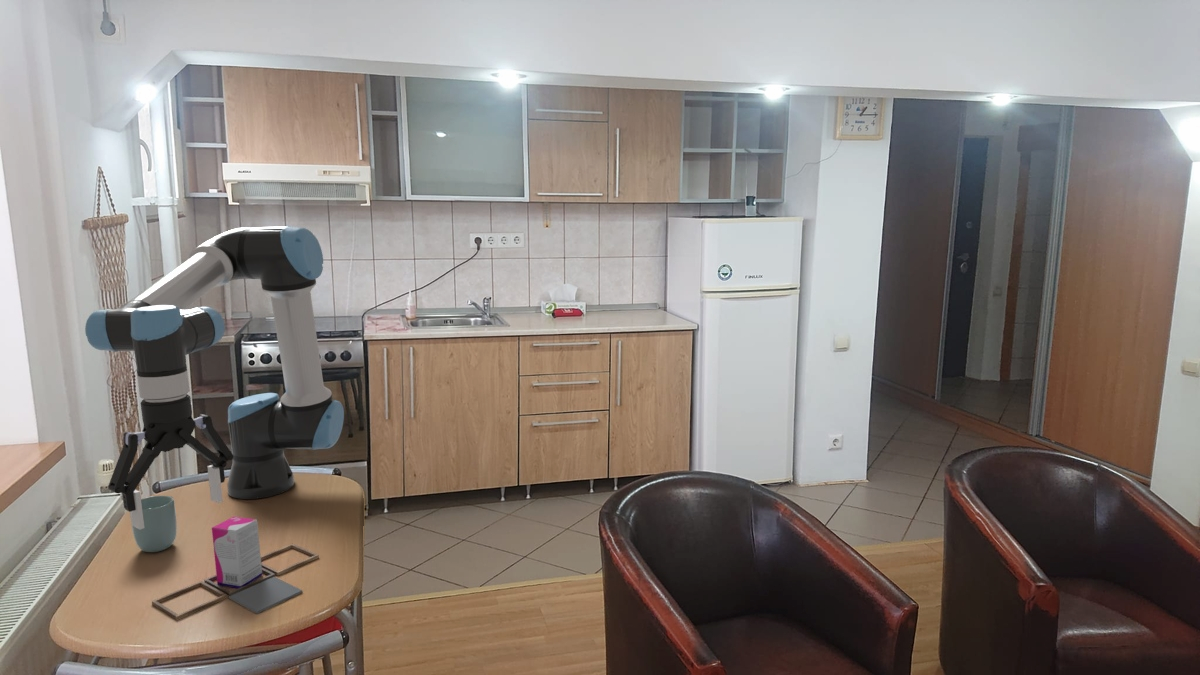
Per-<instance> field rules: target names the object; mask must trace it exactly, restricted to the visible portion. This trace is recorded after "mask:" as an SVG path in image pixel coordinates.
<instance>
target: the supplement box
mask: <svg viewBox="0 0 1200 675" xmlns="http://www.w3.org/2000/svg"><path fill="white" fill-rule="evenodd" d="M211 531H212V532H211V534H212V544H213V553H214V554H213V555H214V562H215V563H214V564H215V565H214V566H215V575H217V579H216V582H217V583H216V584H218V585H220V586H221V587H229V588H235V589H238V588H241V587H243V586H245V585H248V584H250V583H252V582H254V581H257V580H258V578H259V579H260V577H262V575H263V573H262V566H261V563H262V560H261V556H262V555H261V548H260V547H261V545H260V538H259V537H260V535H259V526H258V520H257V519H256V518H255V519H253V518H247V517H241V516H231V517H230V518H228V519H227V520H224V521H222V522H221V523H218V524H217V525H214V526H212V527H211Z"/></svg>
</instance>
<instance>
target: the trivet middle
mask: <svg viewBox="0 0 1200 675" xmlns="http://www.w3.org/2000/svg"><path fill="white" fill-rule="evenodd" d="M262 574H264V575H266V576H264V577H262V578H259V579H256V580H254V581H253V582H251V583H250V584H248V585H245V586H243V587H241V588H235V589H234V590H229V589H227V588H225V587H224V586H222V585H218V584H217V583H216V582H214V581H215V580H217V575H216V574H215V575H213V576H210V577H206V578H205V579H203V580H204V581H203V582H205V583H207V584H208V585H210V586H212V587H214V588H216V589H218V590H219V591H221V592H223V593H225V594H227V597H229V596H231V595H234V594H236V593H238V592H240V591H243V590H245V589H247V588H250V587H252V586H254V585H256V584H259V583H261V582H263V581H266V580H268V579H270V578H272V577H276V575H275V574H274V573H272V572H270V571H268V570H266V569H264V568H262Z"/></svg>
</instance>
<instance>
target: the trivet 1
mask: <svg viewBox="0 0 1200 675" xmlns="http://www.w3.org/2000/svg"><path fill="white" fill-rule="evenodd" d="M198 587H203V588H204V589H206V590H208V591H210V592H212V593H213V594H214V595H217V596H218V597H215V598H213V599H210V600H209V601H206V602H204V603H201V604H200V605H197V606H194V607H193V608H190V609H188V610H185V611H183V612H180V613H179V614H178V613H176V612H175V611H173V610H172V609H170V608H169V607H167V606H165V605H164V604H162V602H165V601H167V600H169V599H172V598H174V597H176V596H179V595H182V594H183V593H186V592H189V591H190V590H194V589H196V588H198ZM226 599H229V596H228V595H227V594H225V593H223V592H221V591H219V590H218V589H216V588H214V587H212V586H210V585H208V584H207V583H205V582H204V581H203V580H200V581H198V582H195V583H193V584H191V585H187V586H185V587H183V588H180V589H178V590H176V591H173V592H170V593H168V594H166V595H163V596H162V597H159V598H156V599H154V600H151V605H152V606H154V607H156V608H157V609H159V610H161V611H162V612H164V613H165V614H167V615H169V616H170V617H171V618H173V619H175V620H177V621H178V620H180V619H182V618H184V617H188V616H189V615H192V614H193V613H195V612H199V611H201V610H203V609H205V608H208V607H210V606H212V605H214V604H216V603H218V602H221V601H224V600H226Z"/></svg>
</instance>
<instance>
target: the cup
mask: <svg viewBox="0 0 1200 675" xmlns="http://www.w3.org/2000/svg"><path fill="white" fill-rule="evenodd" d="M141 504H142V512H143V520H144V528H143V529H140V530H139V529H138V528H136V527H134V526H132V519H131V518H130V524H131V528H132V534H133V538H134V541H135V544H136V545H137V547H138V548H139V550H141V551H143V552H146V553H158V552H162V551H164V550H167V549H169V548H170V547H171V546H172V545H173V544H174V543H175V540H176V538H177V534H178V528H177V527H178V525H177V524H178V521H177V513H176V505H175V498H173V497H172V496H170V495H152V496H148V497H144V498H141ZM129 515H130V517H131V512H129Z"/></svg>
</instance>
